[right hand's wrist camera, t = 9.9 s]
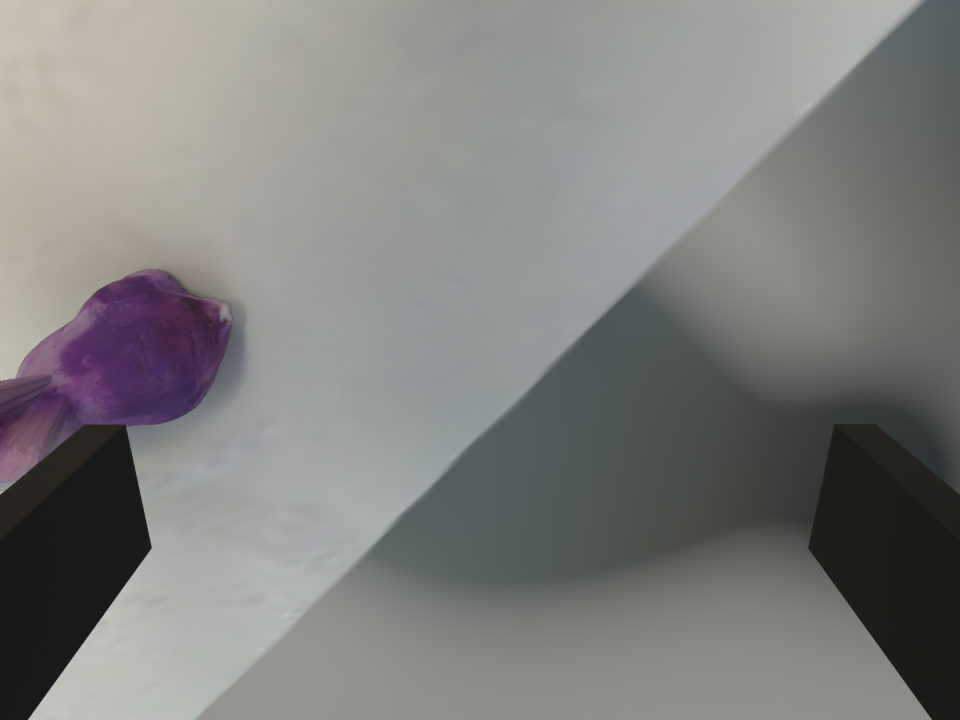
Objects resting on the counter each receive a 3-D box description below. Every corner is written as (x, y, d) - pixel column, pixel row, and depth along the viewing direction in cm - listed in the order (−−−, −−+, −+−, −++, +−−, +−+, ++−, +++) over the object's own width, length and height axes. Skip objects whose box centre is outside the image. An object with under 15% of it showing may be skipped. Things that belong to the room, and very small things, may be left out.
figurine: (63, 397, 42) (-146, 547, 28) (84, 241, 39) (-142, 322, 24) (214, 441, 43) (87, 606, 29) (248, 293, 40) (122, 400, 26)
